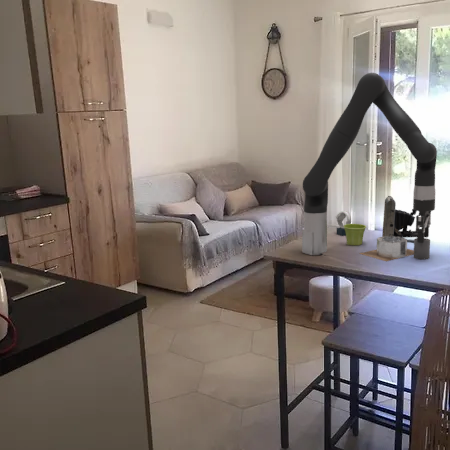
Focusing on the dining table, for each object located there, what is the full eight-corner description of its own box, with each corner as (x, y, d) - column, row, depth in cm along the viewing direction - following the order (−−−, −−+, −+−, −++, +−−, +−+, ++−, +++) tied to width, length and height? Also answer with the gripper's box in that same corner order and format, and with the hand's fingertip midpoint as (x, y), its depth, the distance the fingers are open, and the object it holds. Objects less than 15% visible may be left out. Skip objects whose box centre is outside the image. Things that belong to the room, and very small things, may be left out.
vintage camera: (422, 246, 211) (425, 199, 207) (383, 244, 214) (387, 198, 210) (418, 241, 220) (421, 196, 216) (381, 239, 223) (384, 195, 219)
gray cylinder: (422, 263, 186) (423, 242, 185) (410, 259, 191) (411, 239, 189) (432, 260, 189) (433, 240, 187) (420, 257, 194) (420, 237, 192)
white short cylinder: (392, 259, 189) (393, 244, 187) (371, 253, 198) (371, 238, 196) (412, 254, 194) (412, 239, 193) (390, 249, 203) (390, 234, 202)
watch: (343, 232, 240) (343, 209, 237) (354, 235, 232) (354, 212, 230) (333, 233, 237) (334, 210, 235) (344, 236, 230) (344, 213, 228)
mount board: (386, 263, 187) (386, 261, 187) (358, 255, 199) (358, 253, 199) (421, 254, 197) (422, 252, 196) (393, 247, 209) (393, 245, 208)
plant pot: (365, 243, 218) (365, 223, 216) (366, 248, 209) (366, 228, 207) (343, 242, 220) (343, 223, 218) (343, 248, 211) (343, 228, 209)
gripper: (417, 194, 193) (416, 234, 196) (409, 200, 181) (408, 243, 184) (438, 194, 189) (437, 236, 192) (431, 200, 177) (429, 245, 180)
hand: (422, 239), depth 188 cm, fingers open, 8 cm apart
